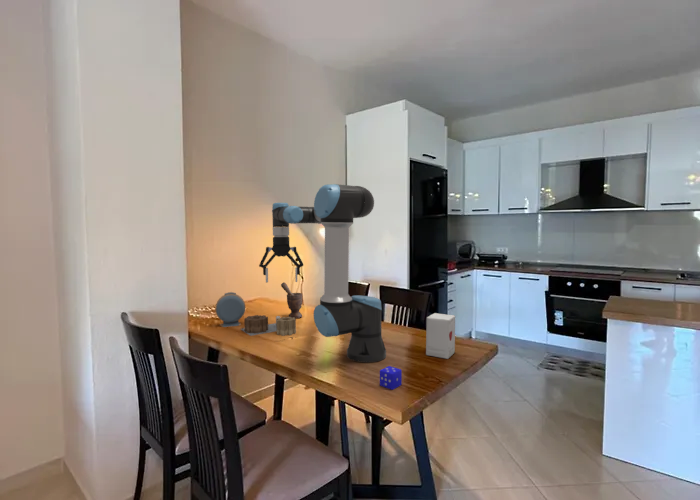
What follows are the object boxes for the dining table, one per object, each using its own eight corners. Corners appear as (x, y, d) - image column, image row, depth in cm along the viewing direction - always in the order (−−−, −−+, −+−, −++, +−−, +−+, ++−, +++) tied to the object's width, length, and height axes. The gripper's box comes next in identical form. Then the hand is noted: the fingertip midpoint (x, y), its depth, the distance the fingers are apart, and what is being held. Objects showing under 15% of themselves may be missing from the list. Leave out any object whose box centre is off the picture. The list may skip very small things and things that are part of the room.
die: (392, 390, 115) (392, 374, 115) (379, 385, 119) (379, 370, 118) (401, 385, 119) (401, 369, 119) (388, 380, 122) (388, 365, 122)
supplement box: (448, 359, 141) (448, 320, 141) (425, 355, 146) (425, 317, 145) (455, 352, 149) (455, 315, 148) (433, 348, 154) (433, 312, 153)
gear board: (294, 331, 182) (294, 317, 181) (250, 339, 169) (250, 324, 169) (282, 324, 193) (282, 312, 193) (240, 331, 181) (239, 318, 180)
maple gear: (299, 336, 172) (298, 319, 171) (281, 340, 167) (281, 322, 167) (290, 332, 179) (290, 315, 179) (273, 335, 174) (273, 318, 174)
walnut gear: (271, 330, 177) (271, 318, 176) (249, 334, 171) (249, 321, 170) (262, 326, 185) (262, 314, 185) (241, 329, 179) (241, 317, 179)
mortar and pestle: (289, 321, 201) (289, 283, 200) (279, 318, 207) (278, 282, 206) (305, 317, 210) (305, 281, 209) (295, 314, 216) (295, 280, 214)
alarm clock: (245, 323, 196) (244, 290, 195) (246, 328, 187) (245, 293, 186) (216, 326, 192) (215, 291, 191) (215, 331, 182) (214, 295, 181)
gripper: (308, 235, 180) (308, 280, 181) (254, 236, 177) (255, 281, 179) (308, 236, 172) (308, 282, 174) (252, 236, 170) (253, 283, 171)
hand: (281, 281), depth 176 cm, fingers open, 13 cm apart
